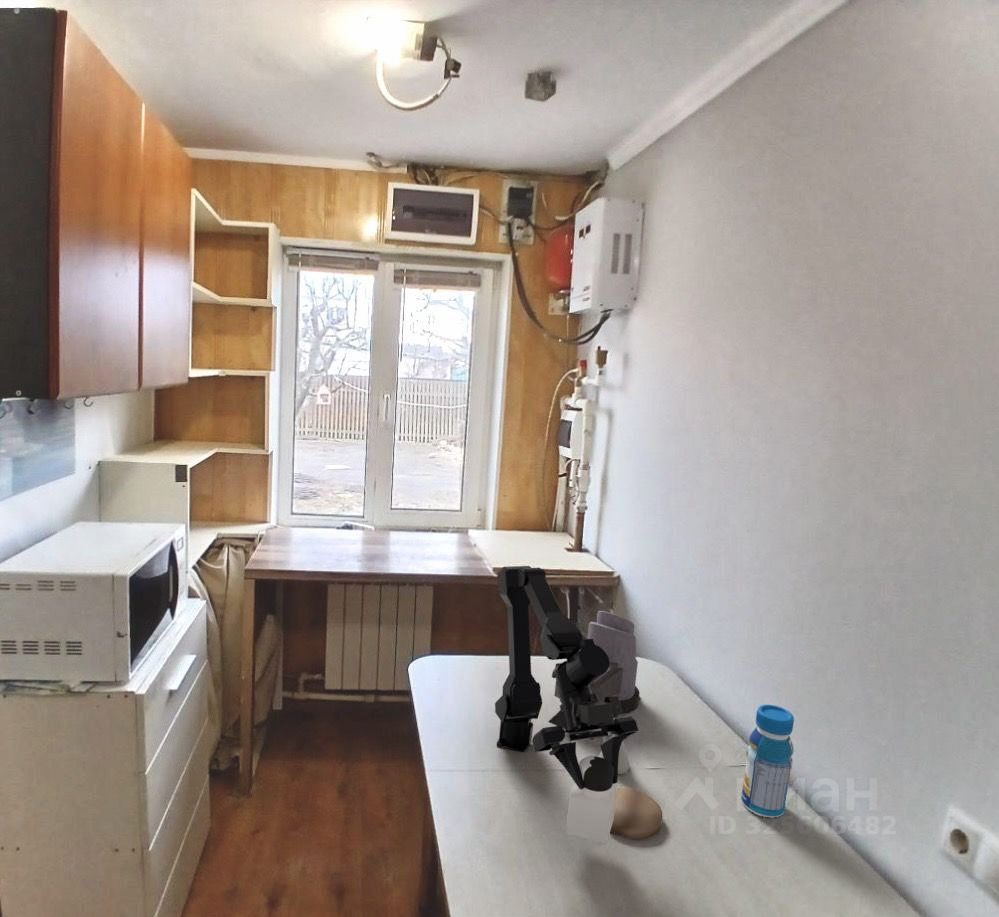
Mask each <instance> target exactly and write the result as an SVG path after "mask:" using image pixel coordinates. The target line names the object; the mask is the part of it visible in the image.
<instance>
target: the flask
mask: <svg viewBox="0 0 999 917" xmlns="http://www.w3.org/2000/svg"><path fill="white" fill-rule="evenodd" d="M614 719H615V718H614ZM624 741H625V740H624ZM624 741H622V744H621V746H620V750H619V758H618V775H626V774H627V772H628V771H629V770H630V768H631V764H630V762H629V761H630V760H629V758H628V754H627V749H626V745H625V742H624ZM597 757H601V758H604V757H603V754H602V751H600V752H599V754H598V756H597Z"/></svg>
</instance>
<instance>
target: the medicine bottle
mask: <svg viewBox="0 0 999 917" xmlns="http://www.w3.org/2000/svg"><path fill="white" fill-rule="evenodd" d="M578 763H579V767H580V771H581V774H582V778H583V784H584V789H581V790H580V789H579V788H578V786H577V785H576V783H575V782H574V784H573V786H572V789H571V791H570V794H569V798H568V805H567V806H568V807H567V816H566V824H565V825H566V826H565V832H566V834H569V835H573V836H576V837H579V838H582V839H586V840H589V841H592V842H595V843H599V844H602V845H607V843H608V841H609V837H610V833H611V831H610V830H611V827H612V823H613V820H614V812H615V803H616V794H617V788H618V784H617V783H616V784H613V776H614V768H613V766H612V764H611V763H610V762H609V761H607V760H606V759H604V758H601V757H598V756H596V755H591V756H586V757H583V758H582V759H580V761H578Z"/></svg>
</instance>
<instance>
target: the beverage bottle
mask: <svg viewBox="0 0 999 917" xmlns="http://www.w3.org/2000/svg"><path fill="white" fill-rule="evenodd" d="M794 723H795V718H794V715H793V714H792V712H791V711H789V710H788V709H785V708H784V707H781V706H778V705H773V704H762V705H760V706H758V708H757V710H756V716H755V725H756V727H755V729H754V730H752V732H751V733H750V736H749V739H748V742H749V745H748V746H747V748H746V753H745V754H746V755H745V756H746V762H745V770H744V777H743V784H742V790H741V796H740V800H741V803H742V804H743V806H744V807H745V808H746V809H747V810H748V811H749V810H750V811H749V812H750V813H752V812H753V814H755V815H756V816H758V817H762V816H763V817H762V818H765V817H770V818H769V819H775V818H774V817H777V818H780V817H781V815H782V816H783V814H784V813H785V810H786V800H787V794H788V788H789V783H790V782H789V781H790V775H791V770H792V768H793V757H792V756H793V754H794V750H795V749H794V744H793V741H792V738H791V734H792V732H793V729H794ZM779 816H780V817H779Z"/></svg>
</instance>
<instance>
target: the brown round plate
mask: <svg viewBox="0 0 999 917" xmlns="http://www.w3.org/2000/svg"><path fill="white" fill-rule="evenodd" d="M662 823H663V810H662V808H661V806H660V804H659V803H658V802H657V801H656V799H654V798H653V797H652V796H650V795H648V794H646V793H644V792H642V791H640V790H636V789H634V788H628V787H617V794H616V803H615V812H614V820H613V823H612V827H611V830H610V832H611V833H613V834H615V835H618V836H620V837H623V838H627V839H631V840H632V839H633V840H645V839H650V838H652V837H654V836H655V835H657V834H658V833H659V832H660V831H661V828H662Z"/></svg>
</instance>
